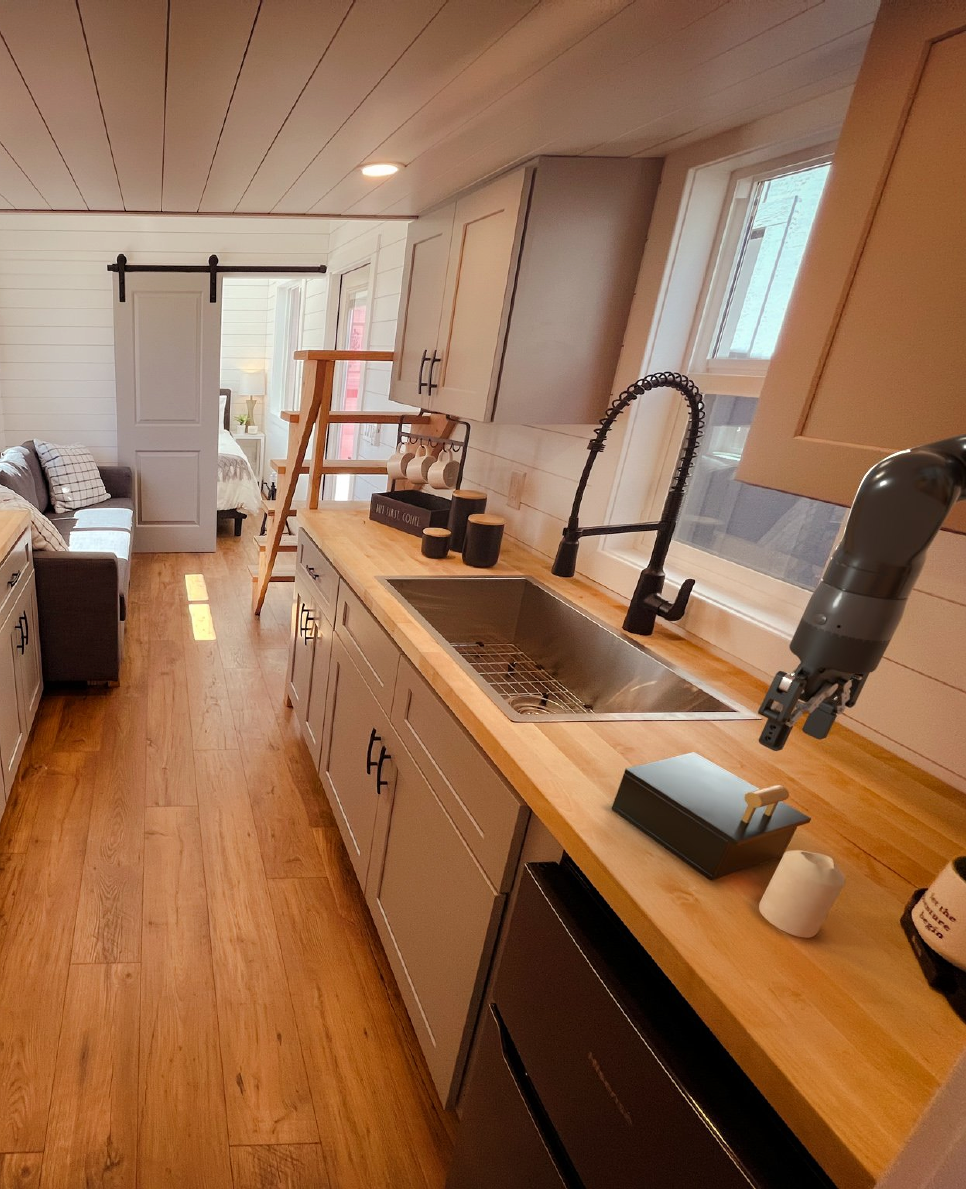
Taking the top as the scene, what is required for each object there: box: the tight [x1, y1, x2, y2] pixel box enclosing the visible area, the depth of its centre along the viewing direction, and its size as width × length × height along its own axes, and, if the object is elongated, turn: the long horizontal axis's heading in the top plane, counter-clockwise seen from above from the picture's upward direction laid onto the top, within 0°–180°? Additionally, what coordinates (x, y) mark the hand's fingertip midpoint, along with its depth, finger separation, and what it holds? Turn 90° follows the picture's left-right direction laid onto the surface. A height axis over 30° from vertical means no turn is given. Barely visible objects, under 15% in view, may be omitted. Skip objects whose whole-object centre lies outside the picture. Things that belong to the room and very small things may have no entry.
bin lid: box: [623, 751, 812, 846], centre depth 90 cm, size 16×15×5 cm
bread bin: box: [610, 773, 798, 882], centre depth 93 cm, size 15×15×7 cm
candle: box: [758, 849, 847, 939], centre depth 78 cm, size 6×6×10 cm
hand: (791, 741), depth 80 cm, fingers open, 8 cm apart
